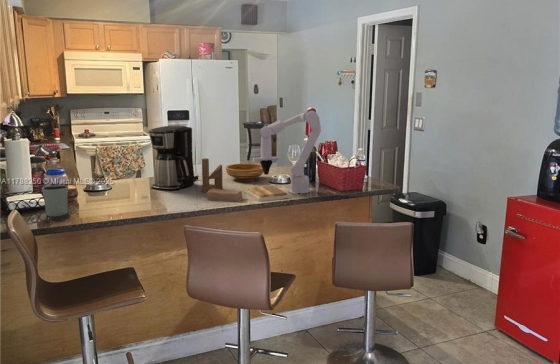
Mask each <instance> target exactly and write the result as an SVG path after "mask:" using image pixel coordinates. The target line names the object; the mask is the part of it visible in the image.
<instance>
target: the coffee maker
mask: <svg viewBox="0 0 560 364" xmlns="http://www.w3.org/2000/svg"><path fill="white" fill-rule="evenodd" d="M148 135H149V140H150V143H151V147H152V149H153V150H156V157H155V161H154V173H153V175H154V176H153V178H154V184H151V185H150V187H151V188H152V189H156V190H164V191H176V190H180V189H183V188H184V189H187V188H188V187H190V186H192V185H194V183H195V181H197V180H199V177H201V176H199V175H198V174H197V175H195V172H194V171H195V170H194V160H193V128H192V127H190V126H186V125H185V126H184V125H165V126H159V127H154V128H150V129H149V130H148Z"/></svg>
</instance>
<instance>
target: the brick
mask: <svg viewBox="0 0 560 364" xmlns="http://www.w3.org/2000/svg"><path fill="white" fill-rule="evenodd" d="M206 200H208V201H216V202H217V201H219V202H239V201H241V200H243V191H242V190H237V189H235V190H233V189H231V190H227V189H223V190H220V189H210V190H209V191H208V192H206Z"/></svg>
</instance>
